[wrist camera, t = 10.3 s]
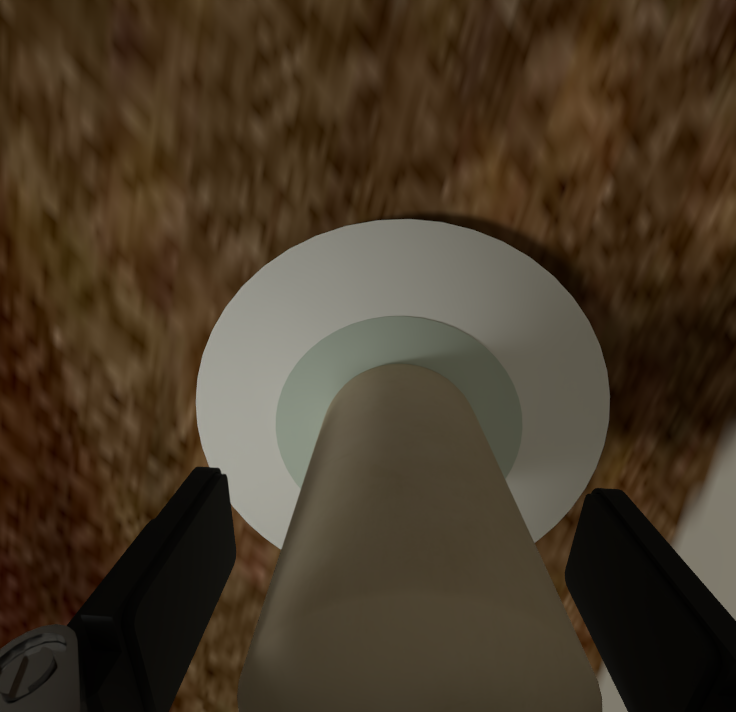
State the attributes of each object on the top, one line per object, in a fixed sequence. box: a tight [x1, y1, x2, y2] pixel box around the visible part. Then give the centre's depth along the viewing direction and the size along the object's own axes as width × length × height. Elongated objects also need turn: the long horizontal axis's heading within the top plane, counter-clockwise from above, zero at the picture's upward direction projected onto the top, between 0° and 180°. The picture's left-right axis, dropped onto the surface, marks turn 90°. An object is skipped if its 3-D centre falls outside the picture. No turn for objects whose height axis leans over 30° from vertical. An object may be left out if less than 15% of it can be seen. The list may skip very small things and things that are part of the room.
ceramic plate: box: [196, 219, 610, 549], centre depth 14 cm, size 15×15×1 cm
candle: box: [237, 364, 602, 712], centre depth 9 cm, size 6×6×10 cm
